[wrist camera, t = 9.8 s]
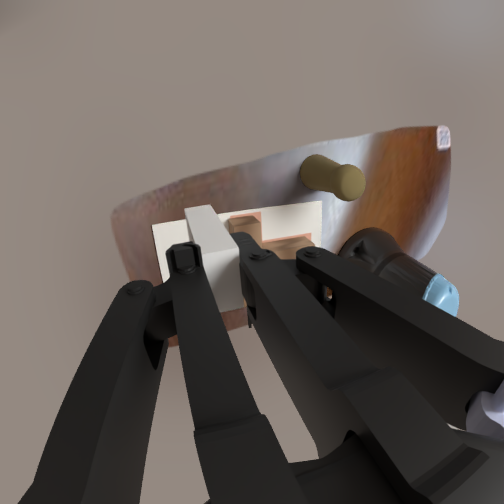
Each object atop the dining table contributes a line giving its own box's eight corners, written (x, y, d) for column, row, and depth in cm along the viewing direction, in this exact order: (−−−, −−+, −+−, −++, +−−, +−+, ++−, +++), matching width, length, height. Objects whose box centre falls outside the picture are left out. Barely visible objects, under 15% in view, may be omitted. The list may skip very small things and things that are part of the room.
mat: (321, 200, 49) (322, 200, 49) (318, 281, 56) (318, 282, 55) (151, 225, 42) (151, 225, 42) (170, 312, 49) (170, 313, 49)
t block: (304, 208, 48) (315, 214, 45) (303, 281, 54) (312, 291, 51) (227, 218, 45) (233, 226, 42) (235, 295, 51) (241, 308, 48)
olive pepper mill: (330, 190, 49) (369, 206, 39) (298, 189, 47) (334, 207, 37) (333, 155, 46) (374, 164, 37) (301, 153, 45) (338, 161, 35)
